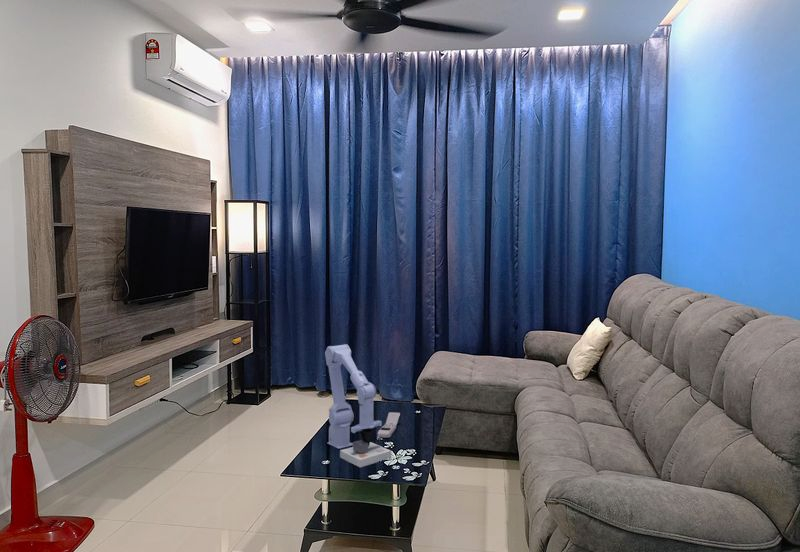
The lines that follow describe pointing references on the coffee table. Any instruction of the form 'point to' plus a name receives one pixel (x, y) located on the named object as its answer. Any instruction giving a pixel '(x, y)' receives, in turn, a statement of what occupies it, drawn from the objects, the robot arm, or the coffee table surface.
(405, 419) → the coffee table surface
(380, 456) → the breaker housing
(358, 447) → the switch lever
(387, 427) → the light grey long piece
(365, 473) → the coffee table surface
